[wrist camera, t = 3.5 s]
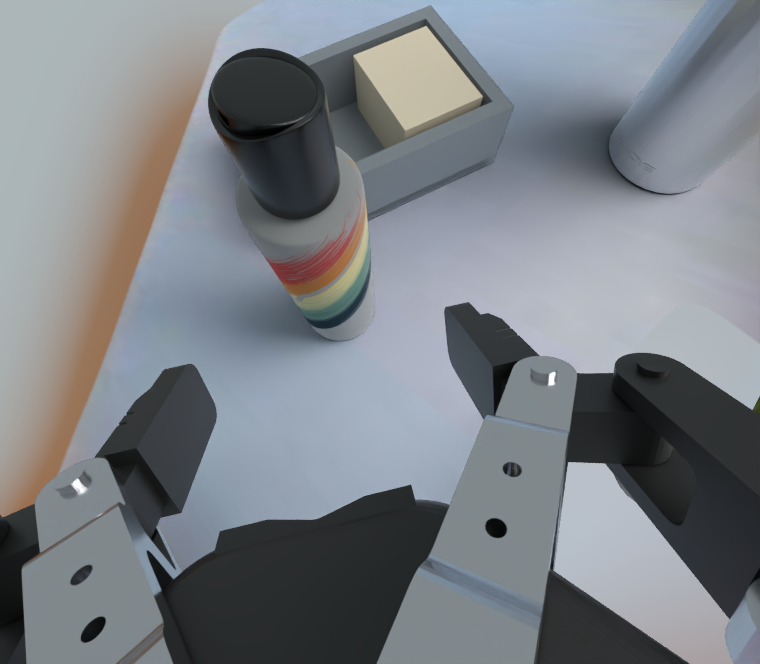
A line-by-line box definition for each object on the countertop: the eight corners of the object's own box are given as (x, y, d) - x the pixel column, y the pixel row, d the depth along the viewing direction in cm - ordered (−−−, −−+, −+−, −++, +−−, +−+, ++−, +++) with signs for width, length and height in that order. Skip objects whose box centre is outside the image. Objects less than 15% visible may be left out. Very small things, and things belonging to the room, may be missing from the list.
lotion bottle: (296, 297, 31) (141, 56, 11) (355, 267, 31) (304, -9, 12) (326, 354, 29) (206, 188, 10) (388, 322, 30) (388, 106, 11)
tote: (424, 72, 38) (430, 5, 32) (492, 162, 34) (514, 106, 28) (244, 147, 35) (216, 90, 29) (298, 253, 32) (279, 211, 26)
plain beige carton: (421, 81, 36) (426, 25, 31) (469, 145, 33) (482, 96, 29) (357, 108, 35) (353, 55, 30) (402, 176, 33) (405, 130, 28)
